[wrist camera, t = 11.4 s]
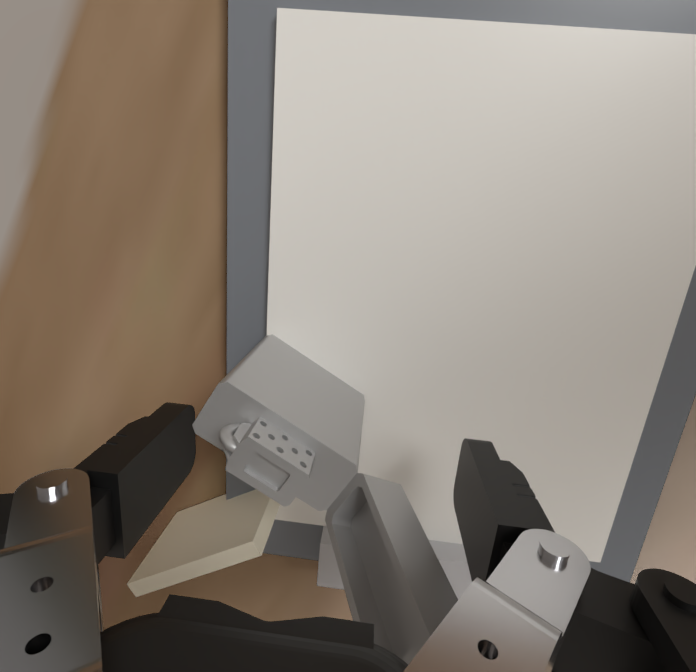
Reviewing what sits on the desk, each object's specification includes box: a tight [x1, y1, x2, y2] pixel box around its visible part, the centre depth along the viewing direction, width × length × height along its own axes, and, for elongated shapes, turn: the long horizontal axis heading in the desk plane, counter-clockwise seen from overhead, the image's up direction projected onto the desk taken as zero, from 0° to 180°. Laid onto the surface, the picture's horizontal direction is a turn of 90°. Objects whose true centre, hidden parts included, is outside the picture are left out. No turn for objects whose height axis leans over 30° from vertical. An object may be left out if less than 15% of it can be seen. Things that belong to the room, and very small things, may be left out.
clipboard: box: [226, 0, 696, 600], centre depth 14 cm, size 16×20×2 cm
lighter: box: [192, 334, 458, 665], centre depth 11 cm, size 7×2×8 cm, turn 56°
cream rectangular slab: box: [127, 489, 280, 597], centre depth 16 cm, size 5×1×4 cm, turn 115°
